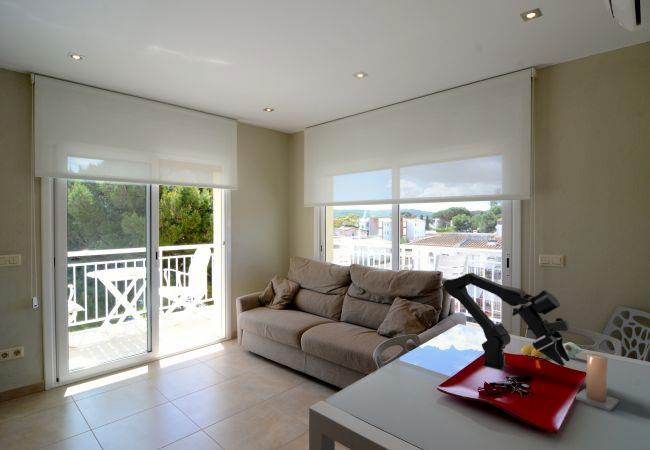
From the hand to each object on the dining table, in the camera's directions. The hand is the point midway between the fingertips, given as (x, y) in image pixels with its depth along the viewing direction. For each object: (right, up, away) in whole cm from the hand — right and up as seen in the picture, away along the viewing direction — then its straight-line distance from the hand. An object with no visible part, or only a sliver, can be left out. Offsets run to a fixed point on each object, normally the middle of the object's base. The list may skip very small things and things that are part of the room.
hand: (566, 363), depth 118 cm
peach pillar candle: (+4, -8, -8) cm, 12 cm away
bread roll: (+7, -9, +30) cm, 32 cm away
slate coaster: (+4, -9, -8) cm, 12 cm away
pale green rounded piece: (+20, -9, +27) cm, 35 cm away
